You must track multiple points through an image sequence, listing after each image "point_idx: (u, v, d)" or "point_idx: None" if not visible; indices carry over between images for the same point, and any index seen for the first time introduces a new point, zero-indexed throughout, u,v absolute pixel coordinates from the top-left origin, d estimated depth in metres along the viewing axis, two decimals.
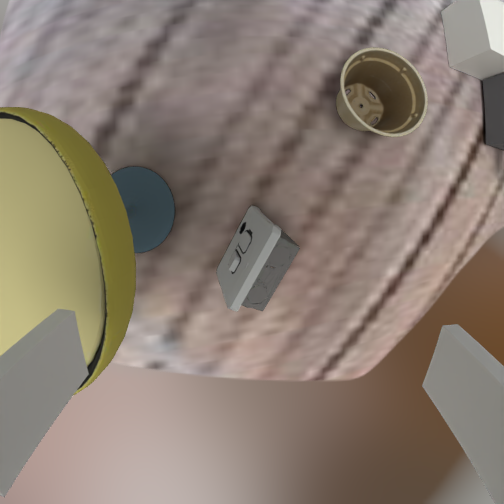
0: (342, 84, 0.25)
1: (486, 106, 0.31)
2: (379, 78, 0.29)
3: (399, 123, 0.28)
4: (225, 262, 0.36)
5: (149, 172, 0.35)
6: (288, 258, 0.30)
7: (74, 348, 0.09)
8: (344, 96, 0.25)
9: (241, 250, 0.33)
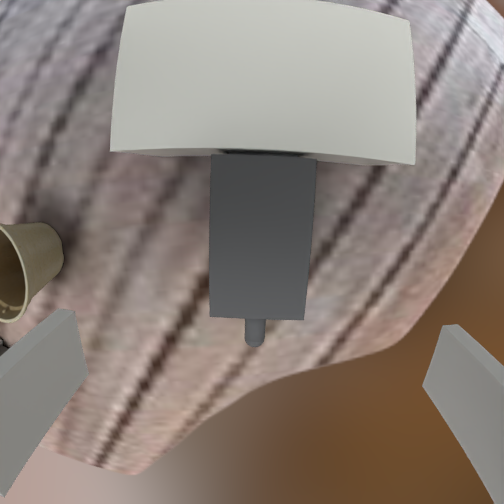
0: None
1: None
2: None
3: (36, 292, 0.24)
4: None
5: None
6: None
7: (74, 348, 0.09)
8: None
9: None
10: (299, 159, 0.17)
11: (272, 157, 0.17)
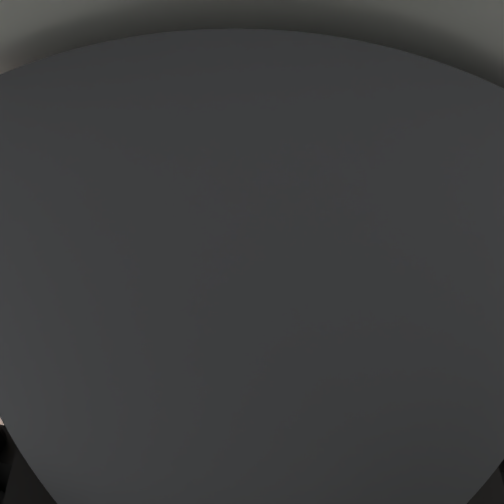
0: None
1: None
2: None
3: None
4: None
5: None
6: None
7: None
8: None
9: None
10: None
11: (412, 68, 0.01)
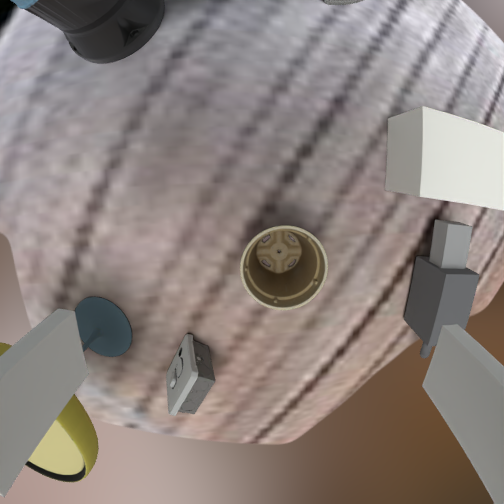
0: (241, 269, 0.33)
1: (412, 285, 0.41)
2: (293, 232, 0.38)
3: (303, 283, 0.37)
4: (170, 373, 0.44)
5: (109, 303, 0.44)
6: (207, 387, 0.39)
7: (74, 348, 0.09)
8: (242, 280, 0.34)
9: (177, 373, 0.41)
10: (474, 275, 0.32)
11: (465, 275, 0.32)
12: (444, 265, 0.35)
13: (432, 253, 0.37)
